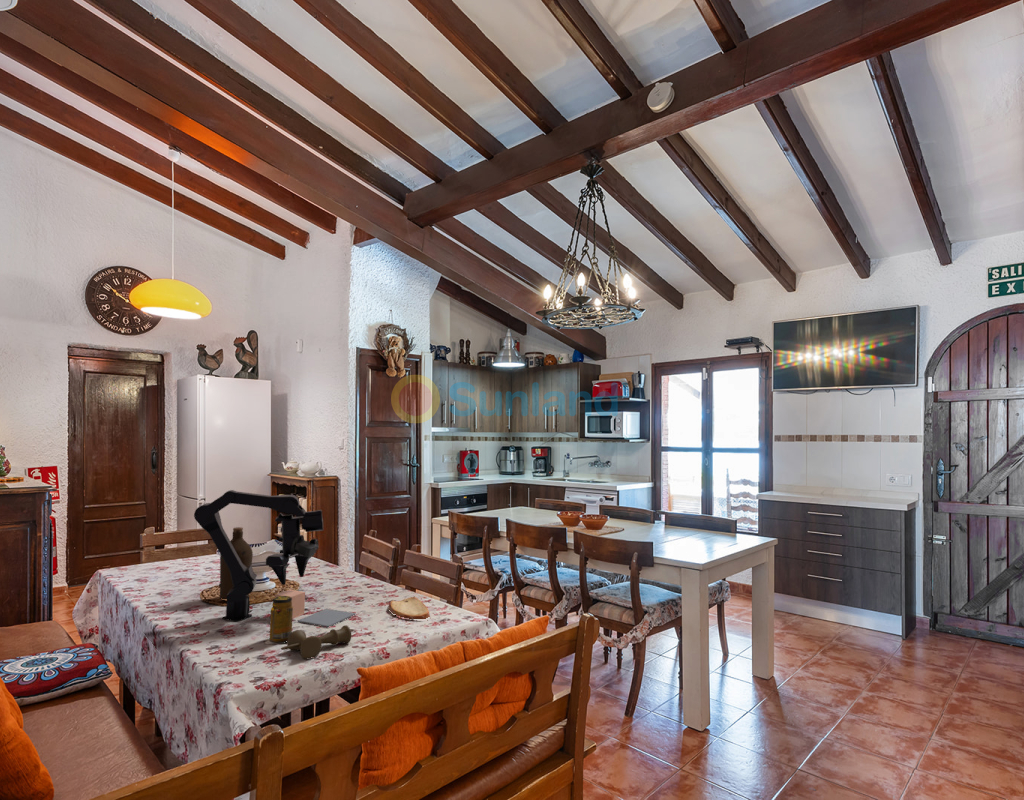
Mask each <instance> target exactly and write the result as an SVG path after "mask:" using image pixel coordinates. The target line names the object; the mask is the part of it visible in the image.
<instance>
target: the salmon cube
mask: <svg viewBox="0 0 1024 800" xmlns="http://www.w3.org/2000/svg"><path fill="white" fill-rule="evenodd" d="M278 596H290V597H292V606H293V616H292V620H293V619H296V618H298V617H300V616H303V615H305V606H306V605H305V603H306V601H305V600H306V591H300V590H293V589H287V590H284V591H281V592H278V593H276V594H274V598H275V597H278Z"/></svg>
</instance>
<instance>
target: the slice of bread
mask: <svg viewBox="0 0 1024 800" xmlns="http://www.w3.org/2000/svg"><path fill="white" fill-rule="evenodd" d="M388 604H389V605H388V607H387V610H388V609H389V610H390V611H391V612H392V613H393V614H396V615H398V616H400V617H404V618H409V619H426V618H428V617H430V618H431V615H430V611H429V608H428V607H427V605H426V604H424V602H423V601H421V600H420V599H419V598H417V597H416V596H411V597H407V598H403V599H401V600H399V601H397V600H391V601H390V602H389V603H388ZM389 610H388V611H389Z"/></svg>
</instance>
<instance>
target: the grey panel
mask: <svg viewBox="0 0 1024 800" xmlns="http://www.w3.org/2000/svg"><path fill="white" fill-rule="evenodd" d="M355 614H356V615H357V613H356V612H352V611H343V610H337V609H331V608H325V609H321V610H320V611H317V612H314V613H313V614H310V615H308V616H305V617H302V618H300V619H298V620H297V623H300V622H302V623H301V624H306V623H309V624H308V625H311V624H315V625H314V626H317V625H321V626H320V627H323V626H326V627H325V628H328V627H329V626H331V627H333V626H335V625H337V624H339V623H338V622H340V621H342V622H344V621H345V619H346V620H348V619H350V618H352V617H351V616H353V615H355ZM356 615H355V616H356ZM349 617H350V618H349ZM353 617H354V616H353ZM347 618H348V619H347ZM343 620H344V621H343ZM336 623H337V624H336ZM340 623H341V622H340ZM334 624H335V625H334ZM332 625H333V626H332ZM329 628H330V627H329Z"/></svg>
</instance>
